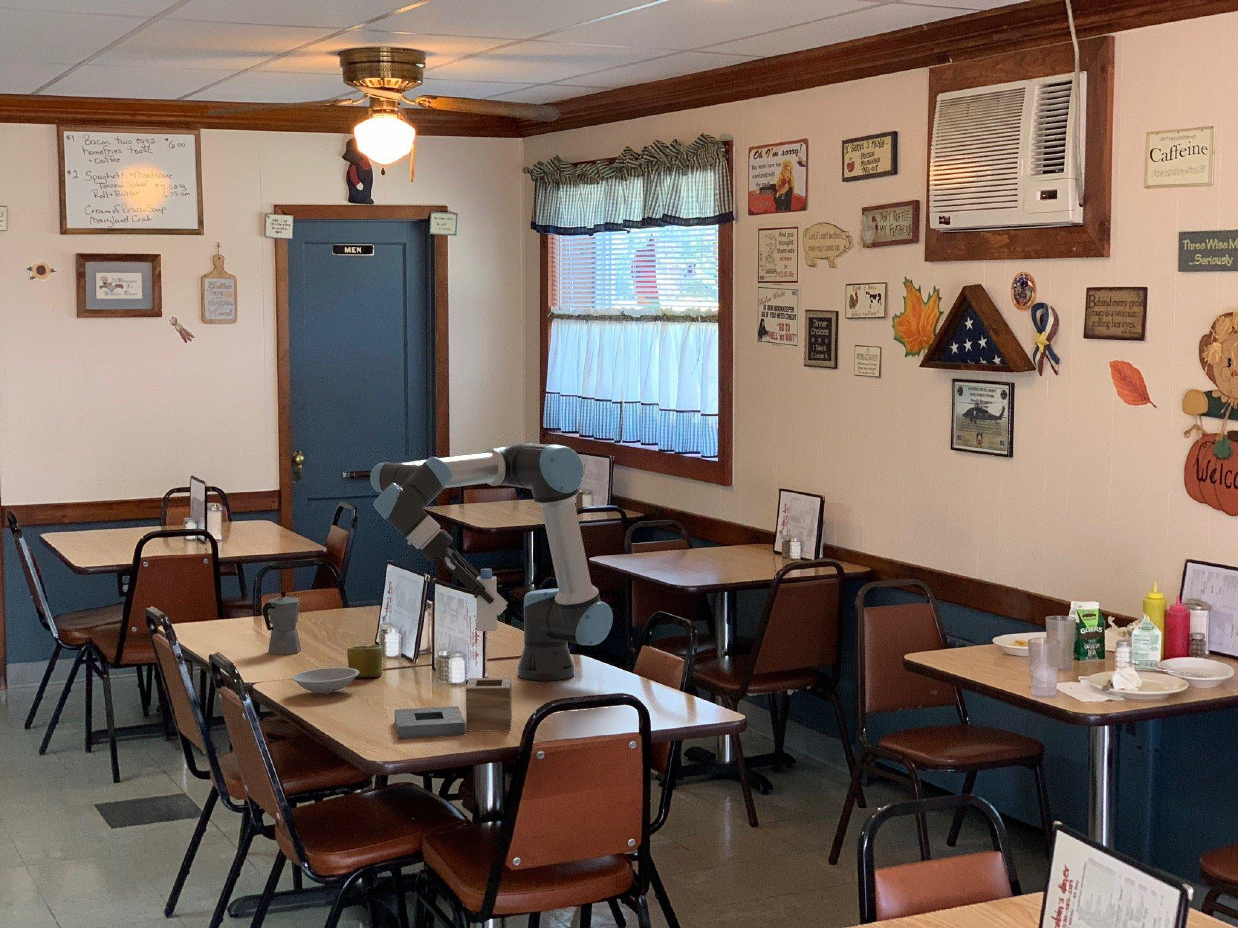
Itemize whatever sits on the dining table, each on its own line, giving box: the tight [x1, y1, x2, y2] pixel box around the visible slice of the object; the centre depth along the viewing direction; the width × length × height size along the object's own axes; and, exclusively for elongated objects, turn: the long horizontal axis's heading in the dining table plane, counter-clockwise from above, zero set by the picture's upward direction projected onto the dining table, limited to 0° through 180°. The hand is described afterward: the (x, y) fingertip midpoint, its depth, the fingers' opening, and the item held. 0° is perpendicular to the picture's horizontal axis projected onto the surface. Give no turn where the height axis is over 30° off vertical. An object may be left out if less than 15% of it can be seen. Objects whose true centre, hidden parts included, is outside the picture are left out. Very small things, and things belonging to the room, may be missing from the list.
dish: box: [291, 667, 359, 695], centre depth 362 cm, size 18×14×5 cm
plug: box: [475, 568, 498, 632], centre depth 329 cm, size 4×4×14 cm
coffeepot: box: [262, 590, 302, 656], centre depth 409 cm, size 15×9×18 cm, turn 153°
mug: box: [346, 644, 384, 679], centre depth 382 cm, size 12×10×10 cm
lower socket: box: [394, 705, 466, 740], centre depth 329 cm, size 15×15×3 cm
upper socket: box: [465, 677, 513, 732], centre depth 331 cm, size 10×10×10 cm
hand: (503, 609), depth 329 cm, fingers closed on plug, 4 cm apart
